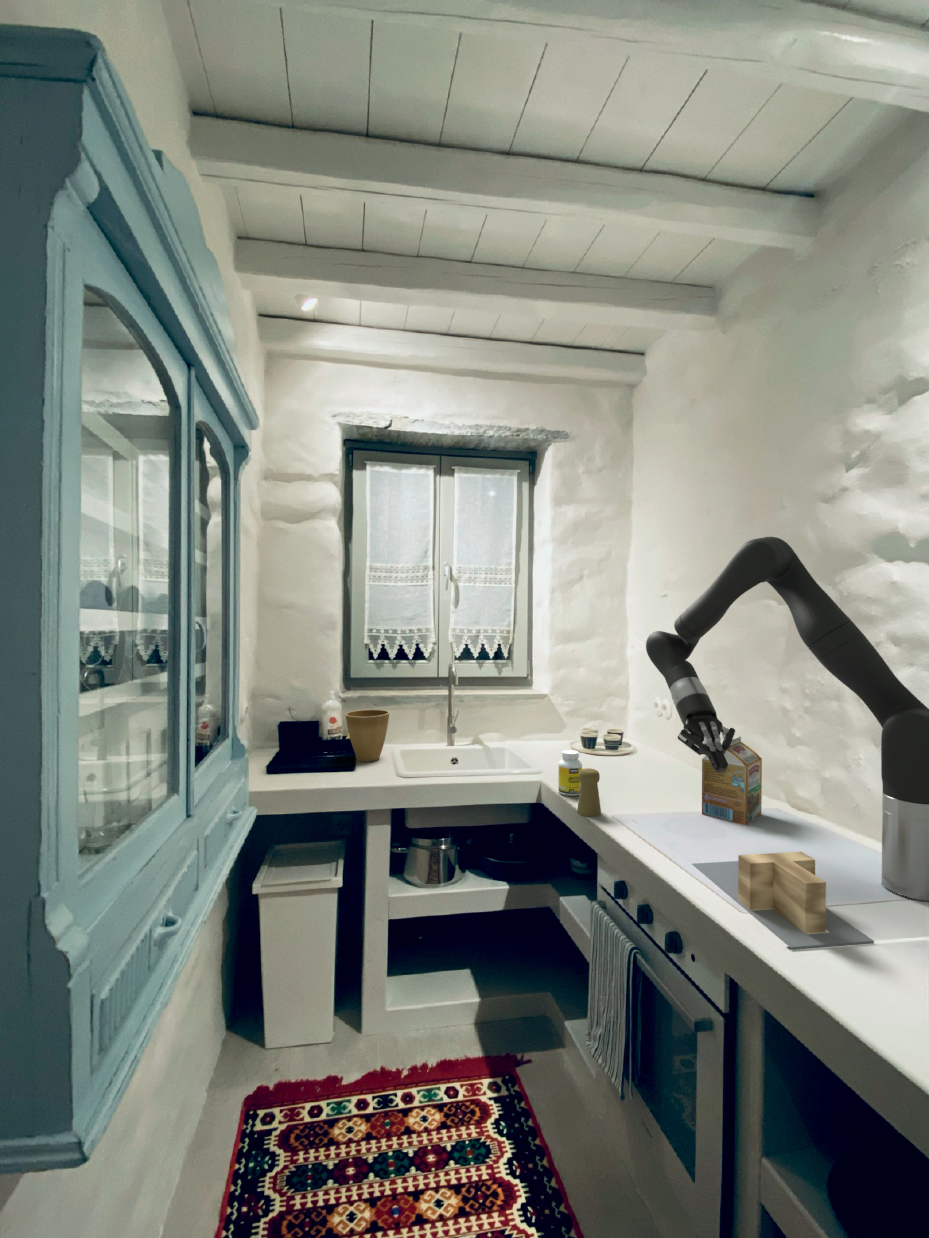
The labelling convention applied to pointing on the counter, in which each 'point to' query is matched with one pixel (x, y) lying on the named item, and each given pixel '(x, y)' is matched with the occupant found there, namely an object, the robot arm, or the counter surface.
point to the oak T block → (784, 888)
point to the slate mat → (835, 926)
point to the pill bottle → (569, 773)
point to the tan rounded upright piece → (589, 793)
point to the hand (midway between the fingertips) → (722, 770)
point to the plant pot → (367, 732)
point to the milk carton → (733, 785)
